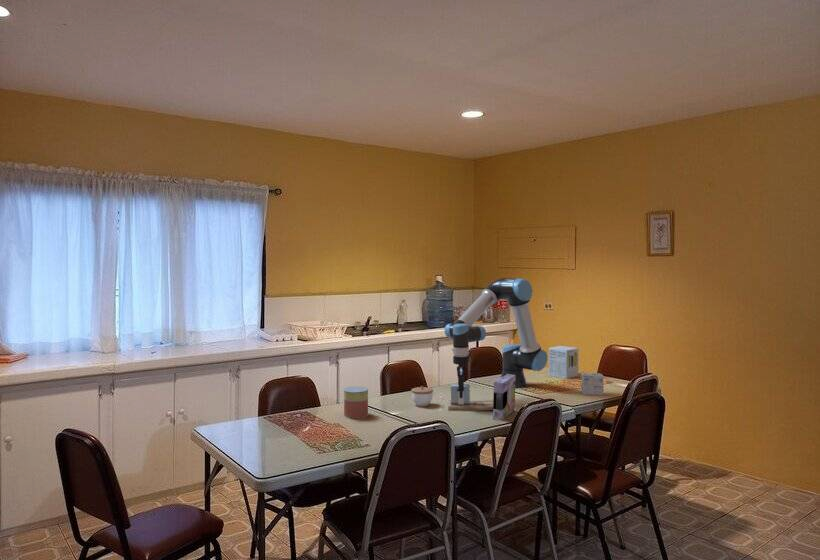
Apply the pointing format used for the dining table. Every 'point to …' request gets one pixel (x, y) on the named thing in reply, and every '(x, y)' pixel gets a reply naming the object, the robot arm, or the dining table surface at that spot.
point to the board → (472, 406)
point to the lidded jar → (422, 395)
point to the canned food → (356, 402)
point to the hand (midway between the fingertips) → (460, 402)
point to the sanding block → (455, 394)
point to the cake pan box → (504, 396)
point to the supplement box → (563, 362)
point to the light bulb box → (592, 384)
